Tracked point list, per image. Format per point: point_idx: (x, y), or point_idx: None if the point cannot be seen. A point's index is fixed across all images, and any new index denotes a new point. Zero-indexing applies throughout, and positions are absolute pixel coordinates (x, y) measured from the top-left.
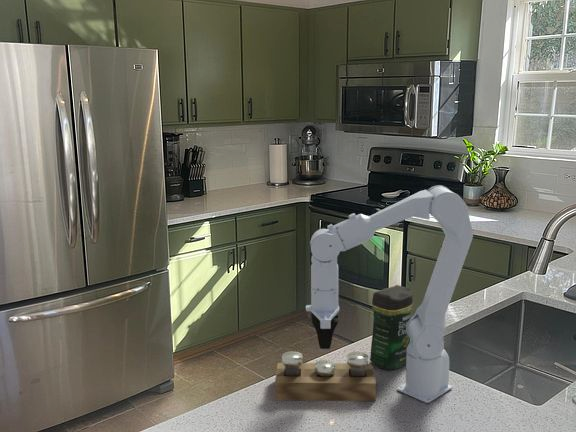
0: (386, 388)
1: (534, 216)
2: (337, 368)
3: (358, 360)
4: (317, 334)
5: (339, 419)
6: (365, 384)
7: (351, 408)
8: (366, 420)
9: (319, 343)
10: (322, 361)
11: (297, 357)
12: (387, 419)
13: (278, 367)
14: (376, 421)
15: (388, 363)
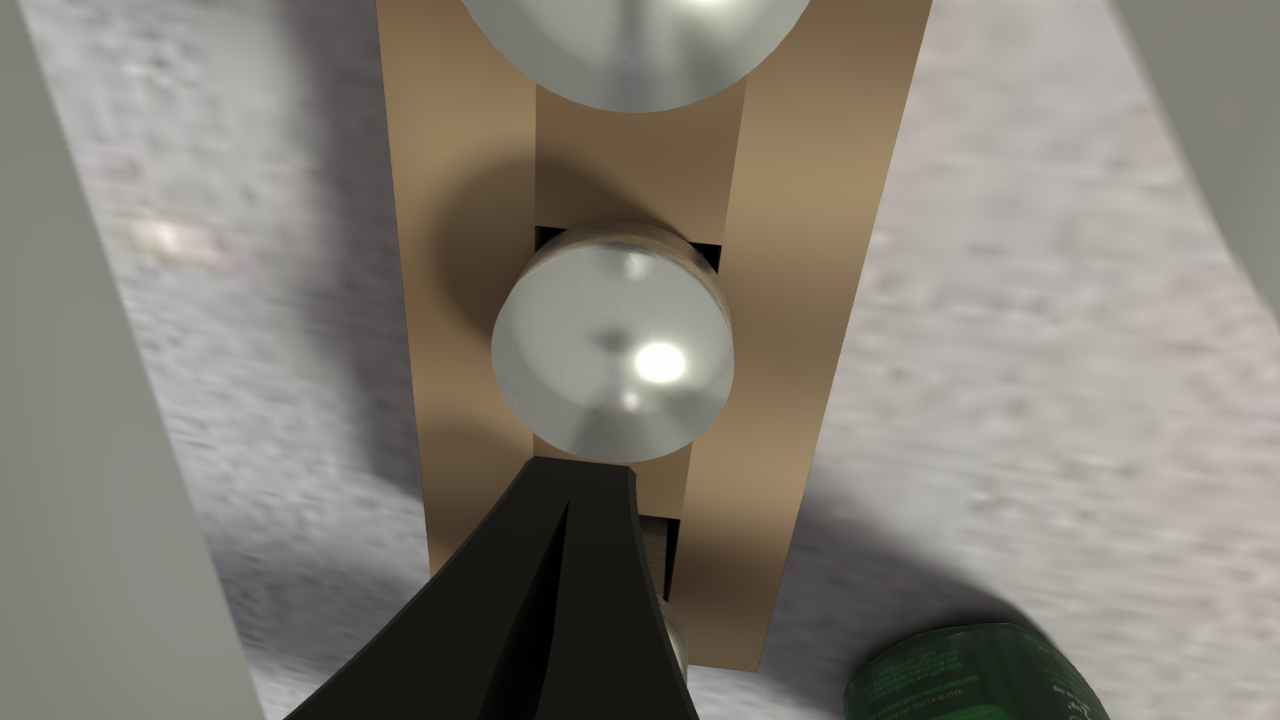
0: None
1: None
2: (705, 440)
3: None
4: (345, 666)
5: (214, 293)
6: (436, 572)
7: (372, 389)
8: (244, 444)
9: (495, 512)
10: (696, 352)
11: (552, 8)
12: (281, 542)
13: None
14: (247, 490)
15: (856, 717)
